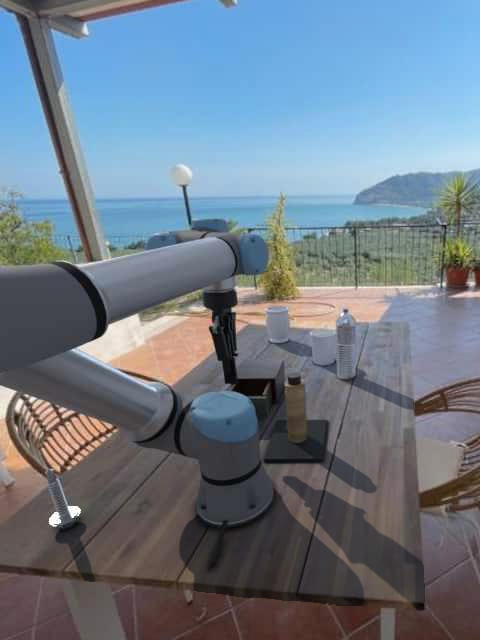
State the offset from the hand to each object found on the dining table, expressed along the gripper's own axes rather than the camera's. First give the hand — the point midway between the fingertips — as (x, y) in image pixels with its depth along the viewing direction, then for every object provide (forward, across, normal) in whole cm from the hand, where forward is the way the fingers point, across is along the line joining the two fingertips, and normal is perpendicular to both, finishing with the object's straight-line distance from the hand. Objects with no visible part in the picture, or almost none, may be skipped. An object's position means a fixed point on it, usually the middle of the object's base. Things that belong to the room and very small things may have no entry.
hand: (231, 382), depth 97 cm
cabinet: (+17, -27, 0) cm, 31 cm away
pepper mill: (+16, +1, +16) cm, 22 cm away
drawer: (+15, -13, 0) cm, 20 cm away
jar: (+17, -78, -3) cm, 80 cm away
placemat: (+16, +1, +16) cm, 23 cm away
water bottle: (+17, -39, +28) cm, 51 cm away
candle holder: (+17, -53, +19) cm, 58 cm away
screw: (+16, +29, -25) cm, 42 cm away
